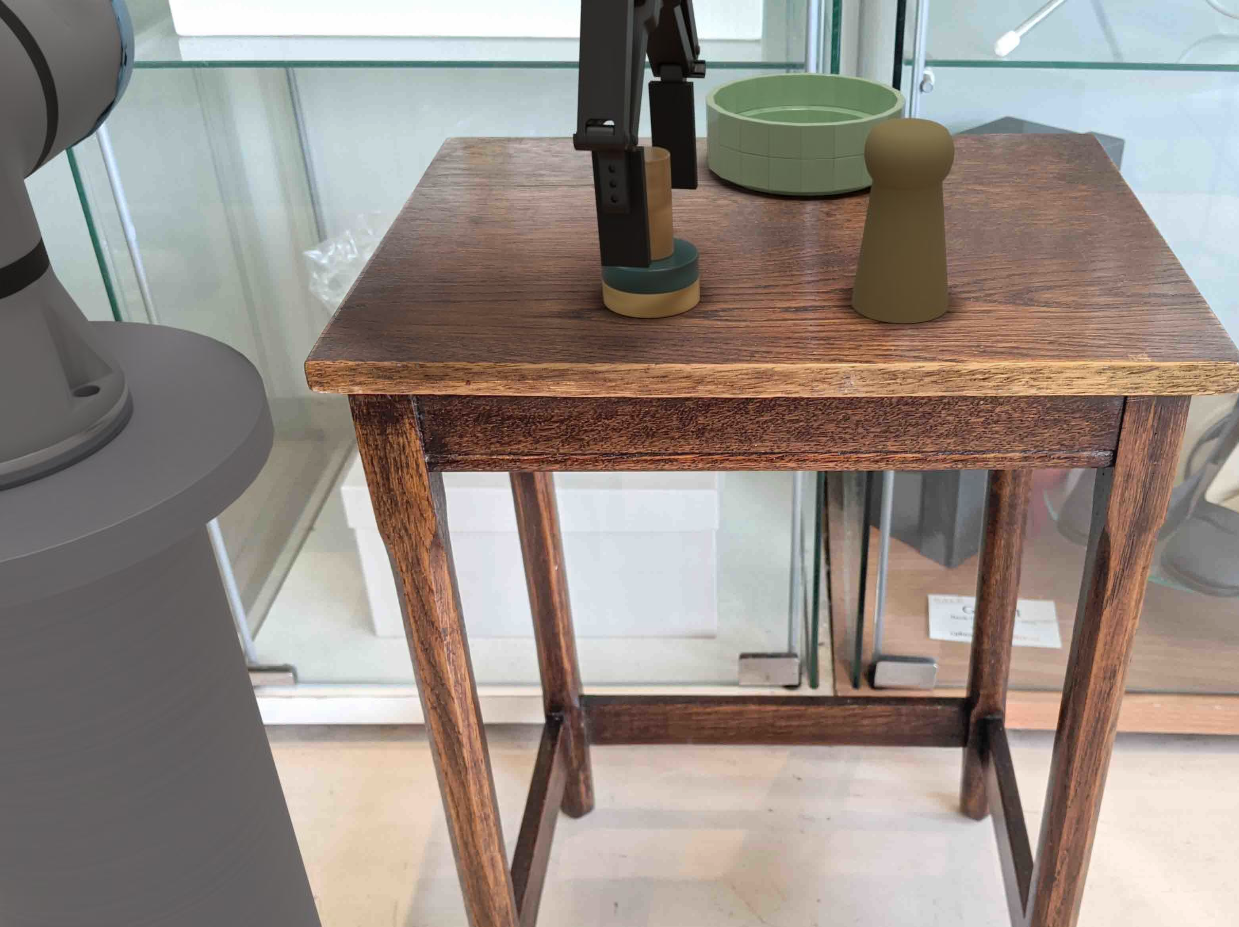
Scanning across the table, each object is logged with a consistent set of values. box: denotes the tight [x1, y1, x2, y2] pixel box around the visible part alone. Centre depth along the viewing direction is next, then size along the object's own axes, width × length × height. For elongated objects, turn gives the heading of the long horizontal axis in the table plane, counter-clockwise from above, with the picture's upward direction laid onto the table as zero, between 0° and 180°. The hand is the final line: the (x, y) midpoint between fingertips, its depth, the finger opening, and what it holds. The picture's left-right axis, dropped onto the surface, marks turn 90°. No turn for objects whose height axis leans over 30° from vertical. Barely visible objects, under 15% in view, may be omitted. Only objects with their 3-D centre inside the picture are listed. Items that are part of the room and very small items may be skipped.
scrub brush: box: [599, 145, 701, 319], centre depth 79 cm, size 6×6×9 cm
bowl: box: [705, 72, 907, 197], centre depth 101 cm, size 15×15×6 cm
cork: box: [850, 117, 956, 324], centre depth 77 cm, size 6×6×11 cm
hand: (653, 224), depth 78 cm, fingers open, 13 cm apart
